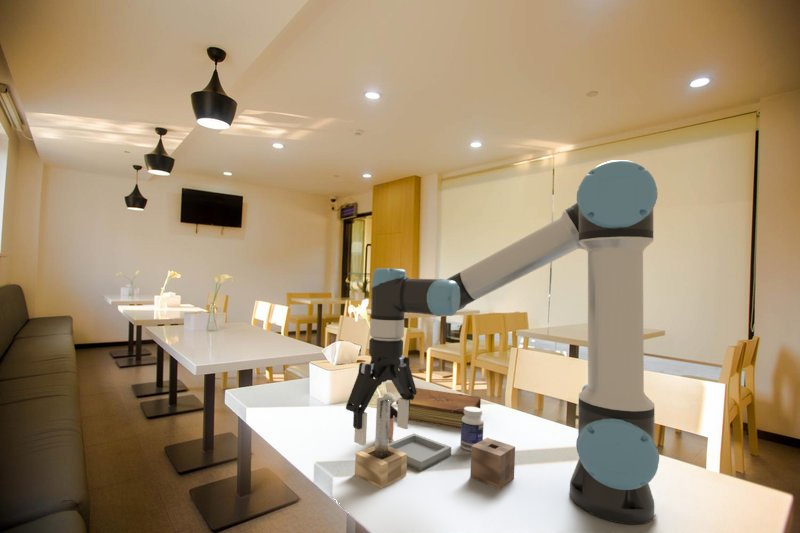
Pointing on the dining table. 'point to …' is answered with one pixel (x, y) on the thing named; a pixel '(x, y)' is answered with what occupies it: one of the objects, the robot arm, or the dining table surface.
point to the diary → (440, 407)
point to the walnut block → (492, 462)
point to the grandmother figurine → (391, 415)
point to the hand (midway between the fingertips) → (382, 435)
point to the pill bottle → (471, 427)
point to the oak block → (380, 466)
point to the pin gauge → (382, 428)
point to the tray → (421, 451)
